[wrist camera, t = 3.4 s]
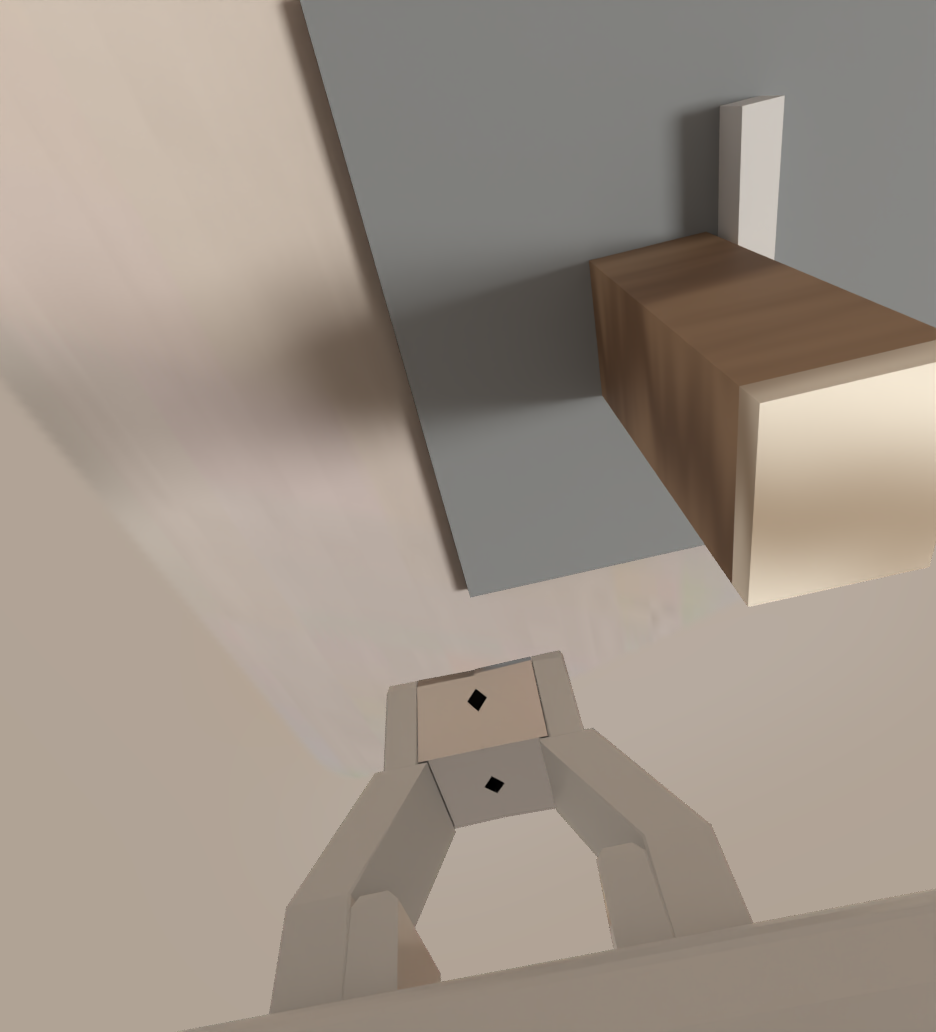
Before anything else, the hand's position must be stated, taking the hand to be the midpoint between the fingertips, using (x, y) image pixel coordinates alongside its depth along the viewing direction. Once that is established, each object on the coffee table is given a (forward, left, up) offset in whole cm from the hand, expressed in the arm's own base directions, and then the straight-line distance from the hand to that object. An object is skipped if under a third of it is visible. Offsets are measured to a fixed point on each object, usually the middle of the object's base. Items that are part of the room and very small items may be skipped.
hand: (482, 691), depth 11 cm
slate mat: (0, +12, -15) cm, 19 cm away
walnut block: (0, +8, -15) cm, 17 cm away
